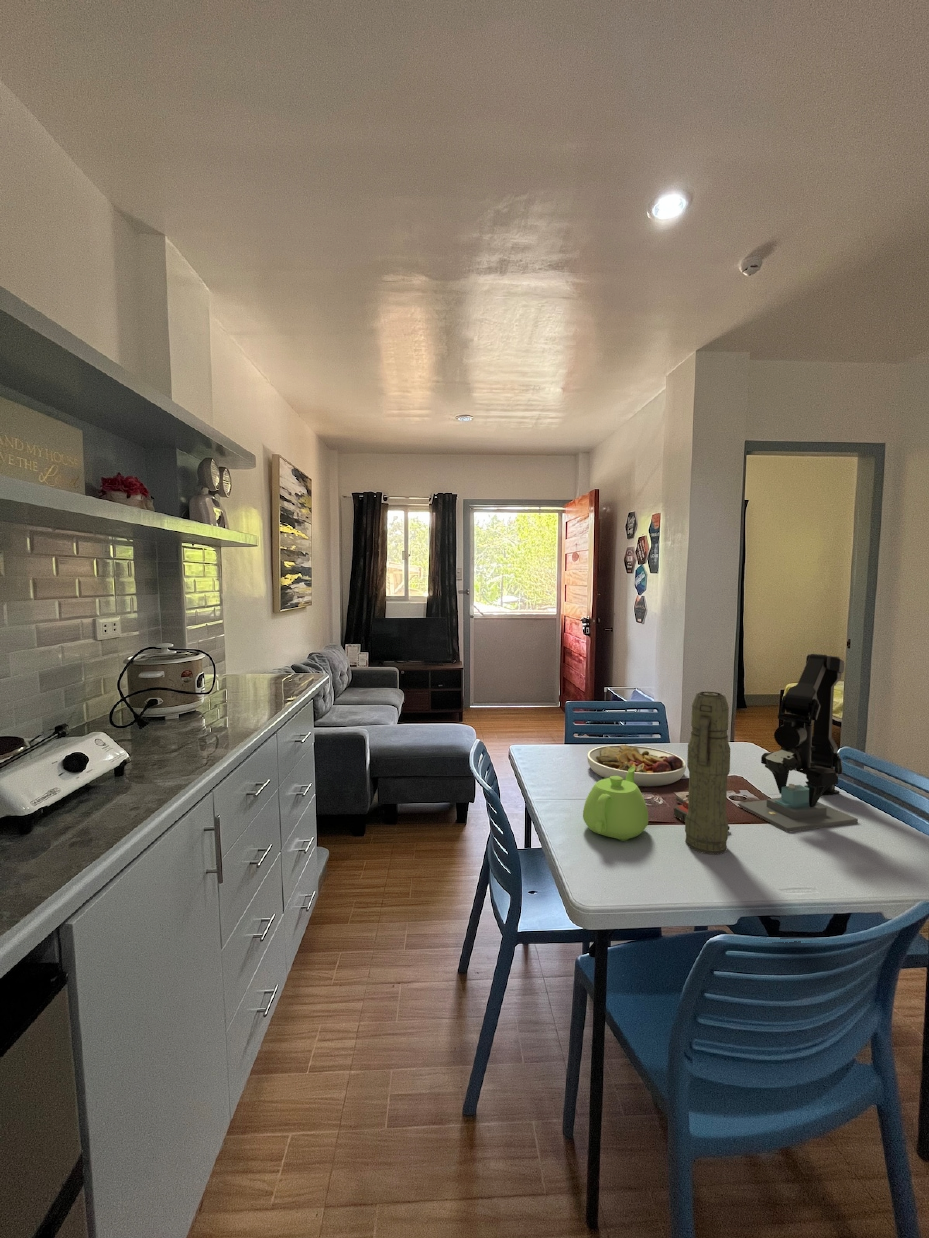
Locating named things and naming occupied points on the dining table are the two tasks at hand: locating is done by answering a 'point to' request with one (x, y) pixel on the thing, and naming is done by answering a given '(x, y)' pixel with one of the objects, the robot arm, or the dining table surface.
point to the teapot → (616, 808)
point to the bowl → (637, 764)
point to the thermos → (708, 774)
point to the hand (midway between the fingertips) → (796, 800)
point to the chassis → (797, 815)
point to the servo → (794, 796)
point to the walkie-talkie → (682, 809)
